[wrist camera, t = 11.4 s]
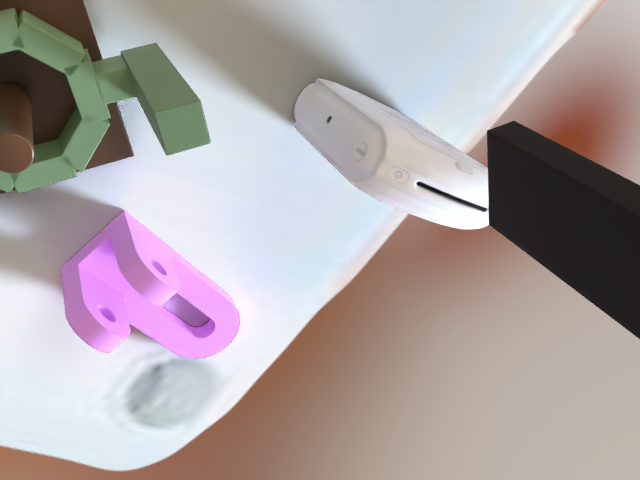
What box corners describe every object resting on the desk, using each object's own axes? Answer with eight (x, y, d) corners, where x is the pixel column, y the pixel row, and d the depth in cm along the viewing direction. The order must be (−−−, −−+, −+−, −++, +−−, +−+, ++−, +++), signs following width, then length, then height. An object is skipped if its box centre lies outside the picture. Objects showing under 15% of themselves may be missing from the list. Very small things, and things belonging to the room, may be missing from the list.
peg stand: (73, -27, 32) (89, 6, 24) (130, 147, 38) (158, 217, 30) (-139, 16, 29) (-193, 67, 22) (-43, 195, 35) (-60, 285, 28)
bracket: (60, 267, 40) (67, 332, 34) (123, 210, 39) (140, 265, 34) (196, 358, 48) (218, 422, 42) (249, 310, 47) (279, 369, 42)
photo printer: (280, 126, 41) (362, 207, 31) (309, 66, 40) (403, 132, 30) (394, 172, 46) (494, 254, 37) (423, 121, 45) (534, 192, 35)
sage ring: (-33, 188, 34) (-50, 293, 25) (-113, 34, 29) (-166, 101, 21) (180, 129, 37) (227, 206, 28) (139, -19, 32) (181, 21, 24)
